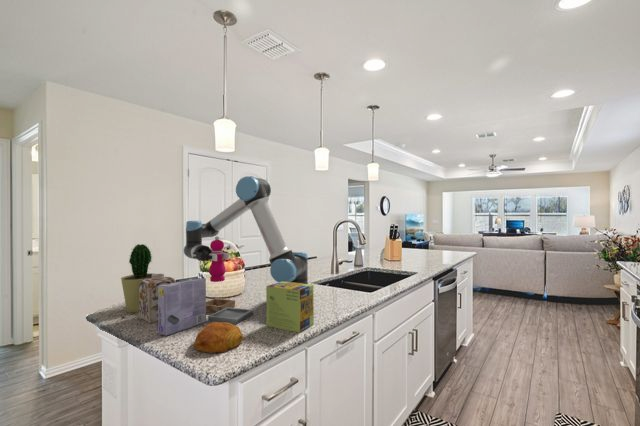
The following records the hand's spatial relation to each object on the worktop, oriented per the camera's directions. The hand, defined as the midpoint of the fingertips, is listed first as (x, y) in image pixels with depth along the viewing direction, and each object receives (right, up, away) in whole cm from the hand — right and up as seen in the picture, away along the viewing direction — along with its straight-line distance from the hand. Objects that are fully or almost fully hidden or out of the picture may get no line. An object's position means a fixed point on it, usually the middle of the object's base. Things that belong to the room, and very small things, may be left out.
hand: (222, 257), depth 145 cm
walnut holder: (-3, -24, +4) cm, 24 cm away
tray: (+6, -24, -9) cm, 26 cm away
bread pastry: (+9, -24, -36) cm, 45 cm away
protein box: (+32, -24, -18) cm, 44 cm away
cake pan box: (-9, -24, -20) cm, 32 cm away
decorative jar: (-25, -24, -7) cm, 35 cm away
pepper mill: (-3, -11, +4) cm, 12 cm away
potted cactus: (-39, -24, +5) cm, 46 cm away
